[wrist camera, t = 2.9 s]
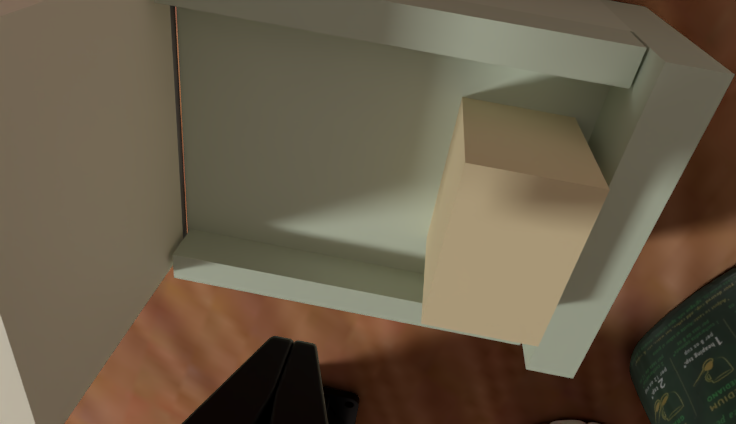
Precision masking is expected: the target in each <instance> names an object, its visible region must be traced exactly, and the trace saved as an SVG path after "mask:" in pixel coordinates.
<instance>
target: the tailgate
mask: <svg viewBox="0 0 736 424" xmlns="http://www.w3.org/2000/svg"><path fill="white" fill-rule="evenodd" d="M186 235H187V229H186V210H185V191H184V172H183V153H182V134H181V115H180V96H179V77H178V58H177V39H176V20H175V6H171V5H165V4H160V3H154V0H0V424H64V423H65V422H66V420H67V419H68V417H69V416H70V414H71V413H72V411H73V410H74V408H75V407H76V406H77V404H78V403H79V401H80V400H81V398H82V397H83V395H84V394H85V392H86V391H87V389H88V388H89V387H90V385H91V384H92V382H93V381H94V379H95V378H96V376H97V375H98V373H99V372H100V371H101V369H102V368H103V366H104V365H105V363H106V362H107V360H108V359H109V357H110V356H111V354H112V353H113V352H114V350H115V349H116V347H117V346H118V344H119V343H120V341H121V340H122V338H123V337H124V336H125V334H126V333H127V331H128V330H129V328H130V327H131V325H132V324H133V322H134V321H135V319H136V318H137V317H138V315H139V314H140V312H141V311H142V309H143V308H144V306H145V305H146V303H147V302H148V300H149V299H150V298H151V296H152V295H153V293H154V292H155V290H156V289H157V287H158V286H159V284H160V283H161V282H162V280H163V279H164V277H165V276H166V274H167V273H168V271H169V270H170V268H171V267H172V265H173V253H174V252H175V250H176V249H177V247H178V246H179V245H180V243H181V242H182V240H183V239H184V238H185V236H186Z"/></svg>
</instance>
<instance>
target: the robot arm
mask: <svg viewBox="0 0 736 424" xmlns="http://www.w3.org/2000/svg"><path fill="white" fill-rule="evenodd" d="M358 406H359V397H358V395H356V394H355V393H352V392H348V391H343V390H338V389H333V388H328V387H323V386H322V379H321V373H320V366H319V359H318V353H317V347H316V345H315V344H313V343H308V342H303V341H295V342H293V340H291V339H288V338H283V337H278V336H273V337H271V338H269V339H268V340H267V341H266V342H265V343H264V344H263V345H262V346H261V347H260V348H259V349H258V350H257V351H256V352H255V353H254V354H253V355H252V356H251V357H250V358H249V359H248V360H247V361H246V362H245V363H244V364H243V365H242V366H241V367H240V368H238V369H237V370H236V371H235V372H234V373H233V374H232V375H231V376H230V377H229V378H228V379H227V380H226V381H225V382H224V383H223V384H222V385H221V386H220V387H219V388H218V389H217V390H216V391H215V392H214V393H213V394H212V395H211V396H210V397H209V398H208V399H207V400H206V401H205V402H204V403H202V404H201V405H200V406H199V407H198V408H197V409H196V410H195V411H194V412H193V413H192V414H191V415H190V416H189V417H188V418H187V419H186V420H185V421H184V422H183V423H182V424H355V420H356V416H357V411H358Z"/></svg>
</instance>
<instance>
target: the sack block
mask: <svg viewBox="0 0 736 424" xmlns="http://www.w3.org/2000/svg"><path fill="white" fill-rule="evenodd" d="M609 191H610V189H609V187H608V185H607V183H606V181H605V179H604V177H603V174H602V172H601V170H600V168H599V166H598V164H597V162H596V160H595V158H594V156H593V154H592V152H591V150H590V147H589V145H588V143H587V141H586V139H585V137H584V135H583V133H582V131H581V129H580V127H579V125H578V122H577V120H576V118H574V117H569V116H564V115H558V114H553V113H547V112H542V111H536V110H531V109H525V108H520V107H515V106H509V105H504V104H498V103H493V102H487V101H482V100H477V99H471V98H466V97H462V100H461V103H460V107H459V111H458V115H457V119H456V123H455V127H454V131H453V135H452V139H451V143H450V147H449V151H448V155H447V159H446V163H445V167H444V171H443V175H442V179H441V183H440V187H439V191H438V195H437V199H436V203H435V207H434V211H433V215H432V219H431V223H430V227H429V231H428V235H427V239H426V255H425V270H424V286H423V302H422V317H421V324H425V325H430V326H435V327H440V328H445V329H450V330H455V331H460V332H465V333H471V334H476V335H481V336H486V337H491V338H496V339H501V340H506V341H511V342H517V343H522V344H527V345H532V346H537V347H538V346H539V344H540V342H541V340H542V337H543V335H544V333H545V331H546V329H547V326H548V324H549V322H550V320H551V318H552V315H553V313H554V311H555V309H556V307H557V305H558V302H559V300H560V298H561V296H562V294H563V291H564V289H565V287H566V285H567V283H568V280H569V278H570V276H571V274H572V272H573V269H574V267H575V265H576V263H577V261H578V259H579V256H580V254H581V252H582V250H583V248H584V245H585V243H586V241H587V239H588V237H589V234H590V232H591V230H592V228H593V226H594V223H595V221H596V219H597V217H598V215H599V213H600V210H601V208H602V206H603V204H604V202H605V199H606V197H607V195H608V193H609Z"/></svg>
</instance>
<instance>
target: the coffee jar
mask: <svg viewBox="0 0 736 424" xmlns="http://www.w3.org/2000/svg"><path fill="white" fill-rule="evenodd" d="M630 375H631V379H632V381H633V384H634V386H635V389H636V391H637V394H638V396H639V398H640V401H641V403H642V405H643V407H644V410H645V412H646V414H647V416H648V418H649V420H650V422H651V424H736V267H735V268H733V269H731V270H730V271H728V272H726V273H725V274H723V275H722V276H720V277H718V278H716V279H715V280H714V281H712V282H711V283H709V284H708V285H706V286H704V287H703V288H701V289H700V290H699V291H697V292H695V293H694V294H693V295H692V296H690V297H689V298H688V299H686V300H685V301H684V302H682V303H681V304H680V305H678V306H677V307H676V308H675V309H674V310H672V311H671V312H670V313H668V314H667V315H666V316H665V317H664V318H662V319H661V320H660V321H659V322H658V323H657V324H656V325H655V326H654V327H653V328H652V329H650V330H649V331H648V332H647V333H646V334H645V335H644V336H643V337H642V339H641V340H640V341H639V342H638V344H637V345H636V347H635V349H634V351H633V353H632V356H631V360H630Z"/></svg>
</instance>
